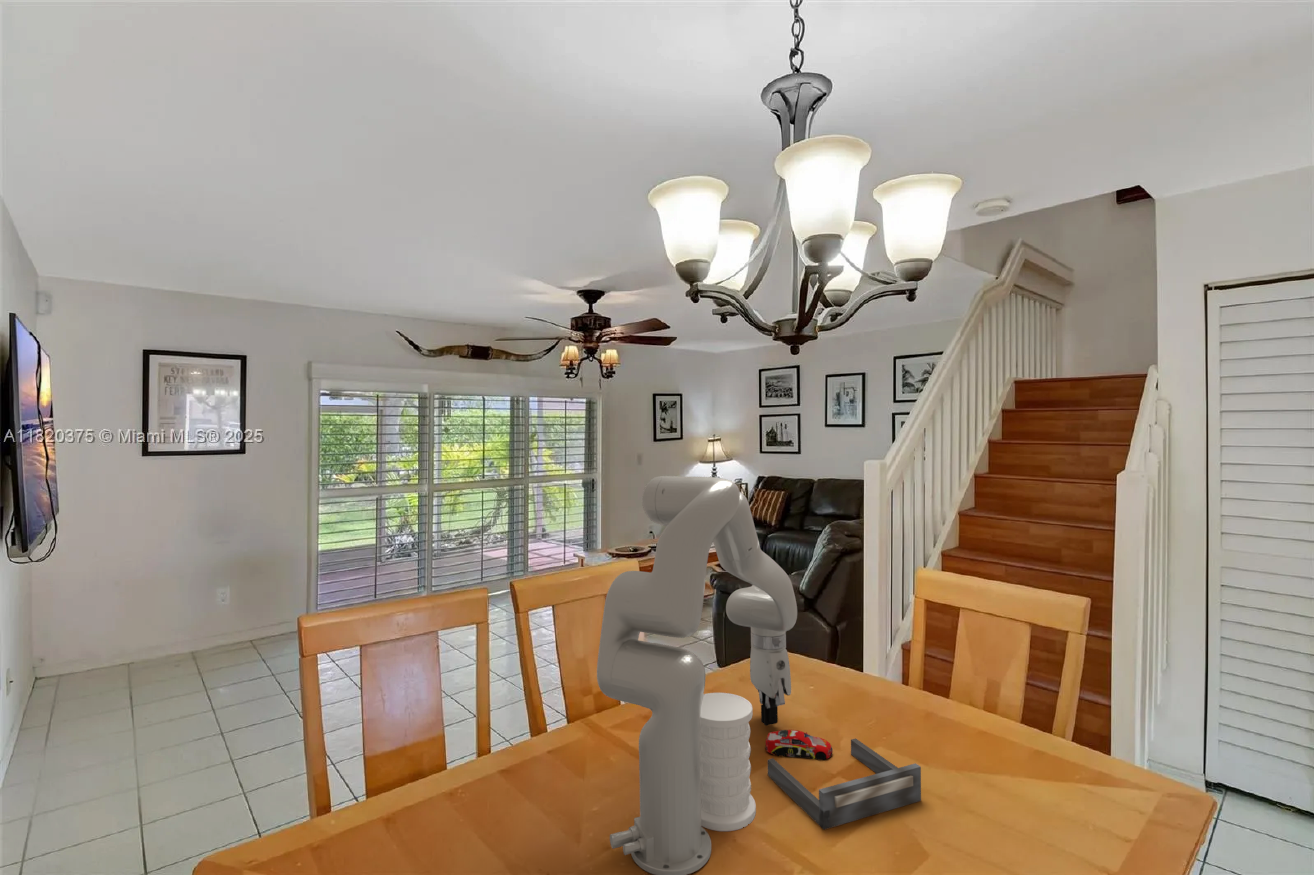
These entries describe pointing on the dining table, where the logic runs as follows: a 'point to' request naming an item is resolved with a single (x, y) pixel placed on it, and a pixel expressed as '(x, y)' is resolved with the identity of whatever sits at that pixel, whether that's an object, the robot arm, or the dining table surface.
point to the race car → (797, 745)
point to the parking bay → (854, 790)
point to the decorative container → (725, 762)
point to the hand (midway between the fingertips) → (769, 722)
